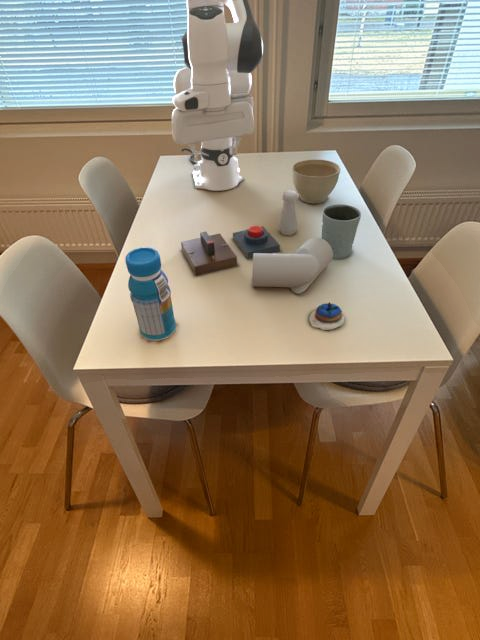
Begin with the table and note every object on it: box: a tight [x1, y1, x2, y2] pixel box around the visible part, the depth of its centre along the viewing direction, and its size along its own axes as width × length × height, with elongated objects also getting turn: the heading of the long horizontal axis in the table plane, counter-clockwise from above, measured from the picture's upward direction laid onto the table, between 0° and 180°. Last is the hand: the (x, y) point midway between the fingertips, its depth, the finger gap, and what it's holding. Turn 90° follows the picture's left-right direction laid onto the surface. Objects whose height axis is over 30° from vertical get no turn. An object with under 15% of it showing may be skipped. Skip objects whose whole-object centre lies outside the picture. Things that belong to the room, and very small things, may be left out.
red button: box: [248, 225, 263, 237], centre depth 115 cm, size 4×4×2 cm
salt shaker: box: [278, 189, 299, 236], centre depth 119 cm, size 6×6×13 cm
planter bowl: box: [291, 158, 342, 204], centre depth 138 cm, size 16×16×11 cm
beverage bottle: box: [124, 246, 177, 342], centre depth 85 cm, size 8×8×20 cm
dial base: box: [180, 233, 238, 277], centre depth 113 cm, size 14×12×3 cm
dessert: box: [308, 301, 345, 331], centre depth 92 cm, size 8×7×6 cm
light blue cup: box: [320, 203, 362, 260], centre depth 111 cm, size 10×10×12 cm
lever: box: [199, 231, 215, 256], centre depth 111 cm, size 7×2×4 cm, turn 22°
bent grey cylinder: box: [252, 236, 334, 294], centre depth 102 cm, size 18×10×20 cm
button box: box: [232, 226, 281, 260], centre depth 117 cm, size 12×10×4 cm
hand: (216, 157), depth 101 cm, fingers open, 8 cm apart
